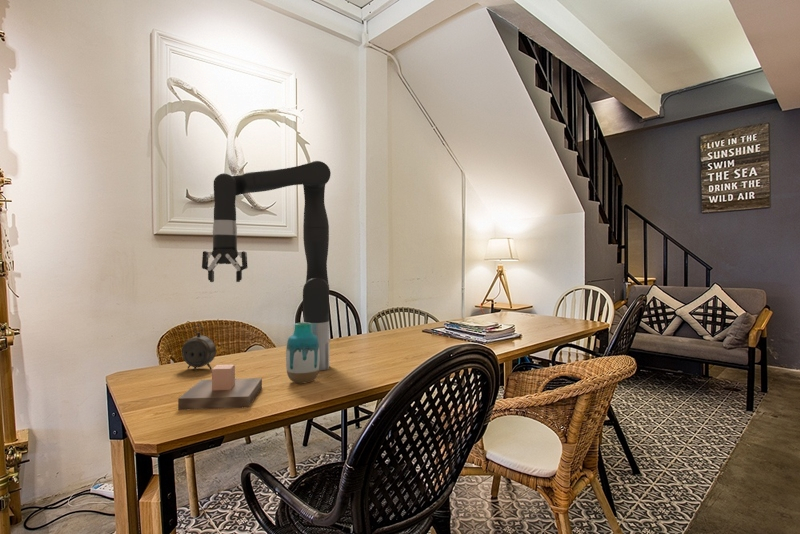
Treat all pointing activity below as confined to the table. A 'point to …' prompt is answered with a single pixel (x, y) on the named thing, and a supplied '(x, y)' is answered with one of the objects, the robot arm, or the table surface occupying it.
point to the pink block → (223, 377)
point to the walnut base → (220, 395)
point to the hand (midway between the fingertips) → (225, 281)
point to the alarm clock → (198, 351)
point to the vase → (302, 354)
